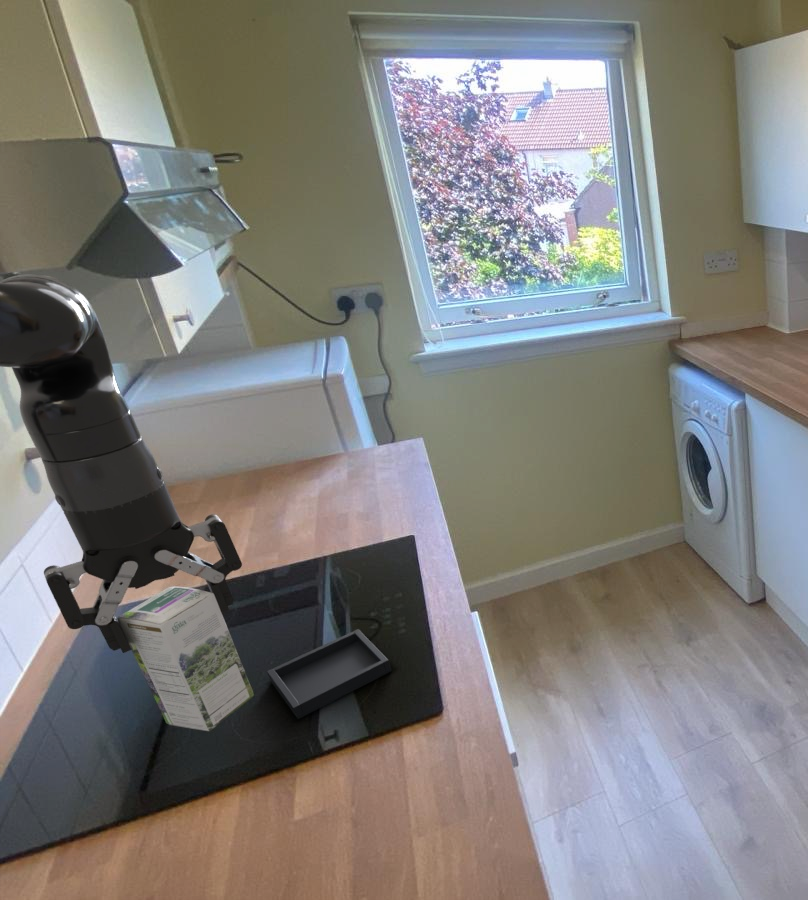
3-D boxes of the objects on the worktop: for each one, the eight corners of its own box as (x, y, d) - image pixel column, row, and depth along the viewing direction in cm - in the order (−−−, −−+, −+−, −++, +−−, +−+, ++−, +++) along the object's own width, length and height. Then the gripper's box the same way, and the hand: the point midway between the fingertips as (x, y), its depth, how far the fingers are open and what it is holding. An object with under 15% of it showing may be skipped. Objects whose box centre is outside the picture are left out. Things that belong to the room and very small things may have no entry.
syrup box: (215, 689, 84) (167, 583, 78) (257, 696, 83) (213, 589, 77) (166, 725, 79) (111, 615, 73) (211, 733, 78) (159, 622, 72)
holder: (298, 719, 101) (293, 707, 100) (271, 682, 108) (266, 671, 107) (392, 671, 110) (388, 659, 109) (361, 639, 117) (358, 628, 116)
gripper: (194, 455, 77) (246, 584, 84) (4, 506, 67) (80, 648, 74) (213, 474, 72) (266, 610, 79) (12, 532, 63) (92, 681, 69)
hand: (176, 628), depth 76 cm, fingers closed on syrup box, 7 cm apart
